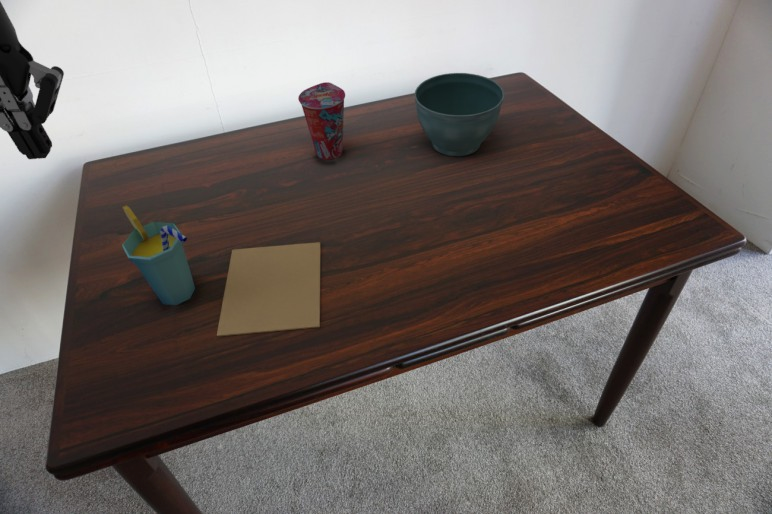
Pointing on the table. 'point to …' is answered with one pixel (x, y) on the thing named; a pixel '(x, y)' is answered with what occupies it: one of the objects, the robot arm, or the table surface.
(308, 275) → the cork mat
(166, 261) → the cup
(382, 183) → the table surface
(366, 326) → the table surface
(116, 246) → the table surface
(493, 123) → the flower pot
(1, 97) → the robot arm
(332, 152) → the cup
